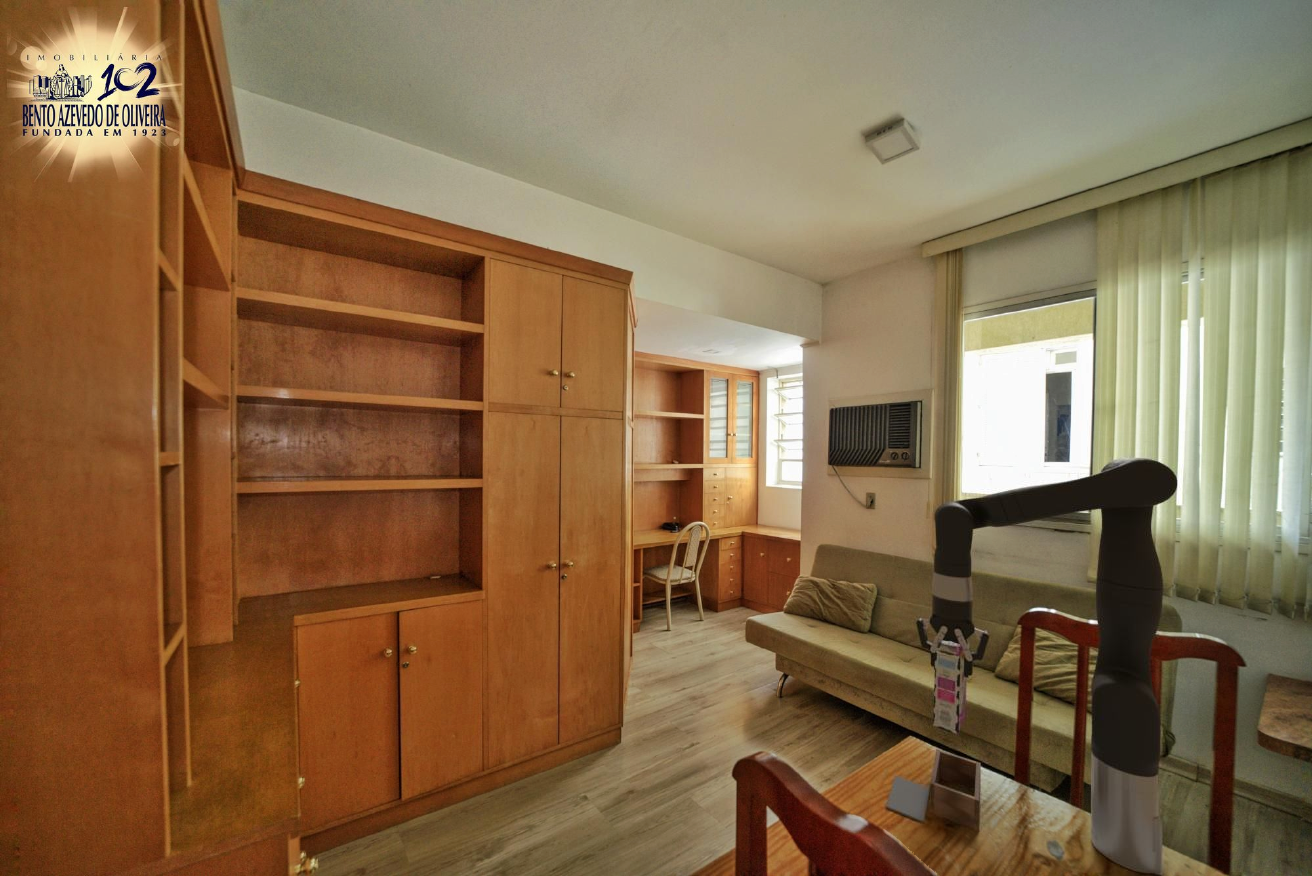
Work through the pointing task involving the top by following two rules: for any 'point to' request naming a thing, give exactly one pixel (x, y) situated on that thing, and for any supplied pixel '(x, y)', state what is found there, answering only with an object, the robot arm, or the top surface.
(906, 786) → the grey mat
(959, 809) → the walnut sleeve
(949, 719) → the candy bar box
